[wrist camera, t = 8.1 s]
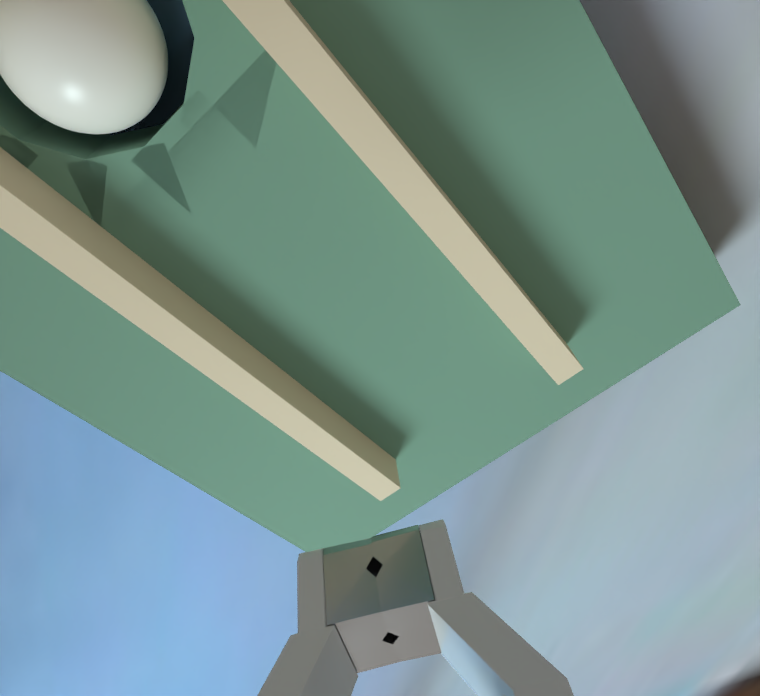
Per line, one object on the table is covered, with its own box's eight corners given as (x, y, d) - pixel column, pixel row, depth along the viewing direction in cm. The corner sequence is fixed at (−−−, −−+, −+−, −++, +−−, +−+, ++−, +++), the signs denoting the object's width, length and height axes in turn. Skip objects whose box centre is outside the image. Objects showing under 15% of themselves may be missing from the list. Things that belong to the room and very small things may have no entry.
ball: (197, 150, 16) (119, 77, 12) (61, 164, 16) (-57, 97, 12) (190, 11, 16) (111, -106, 12) (56, 28, 17) (-63, -81, 13)
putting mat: (700, 272, 22) (800, 352, 18) (326, 520, 28) (330, 627, 24) (24, -938, 9) (-281, -1901, 4) (-423, 36, 15) (-747, 73, 10)
